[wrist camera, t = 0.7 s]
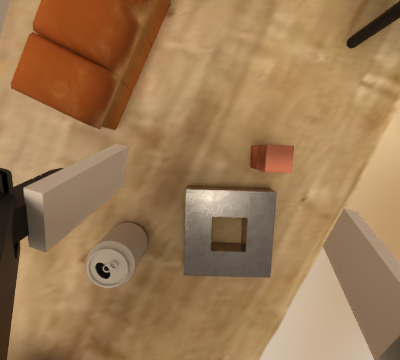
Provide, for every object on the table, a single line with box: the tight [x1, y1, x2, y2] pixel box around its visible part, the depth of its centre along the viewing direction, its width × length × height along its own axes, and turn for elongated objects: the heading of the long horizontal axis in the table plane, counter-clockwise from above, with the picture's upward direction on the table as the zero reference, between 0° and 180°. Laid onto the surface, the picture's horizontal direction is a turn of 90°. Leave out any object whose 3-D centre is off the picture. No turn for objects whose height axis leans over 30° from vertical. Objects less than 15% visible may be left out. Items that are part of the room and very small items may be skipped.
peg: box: [250, 145, 294, 173], centre depth 40 cm, size 4×4×10 cm
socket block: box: [184, 186, 276, 277], centre depth 45 cm, size 16×16×4 cm
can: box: [86, 222, 148, 288], centre depth 41 cm, size 8×8×12 cm
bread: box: [11, 0, 170, 130], centre depth 35 cm, size 25×12×15 cm, turn 154°
